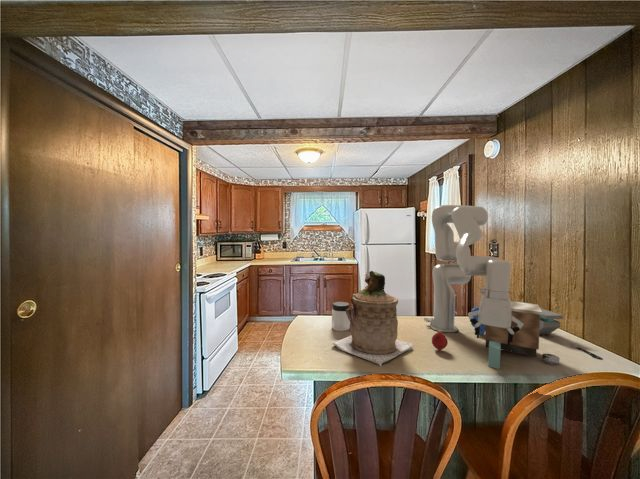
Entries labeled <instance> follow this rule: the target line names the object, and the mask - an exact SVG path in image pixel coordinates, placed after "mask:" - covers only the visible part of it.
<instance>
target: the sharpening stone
mask: <svg viewBox="0 0 640 479" xmlns="http://www.w3.org/2000/svg"><path fill="white" fill-rule="evenodd" d="M520 302H521V303H525V302H523V301H520ZM540 309H541V311H542V315H540V328H539V335H550V334H551V333H553V332H555V331H556V330H558V329H559V328H561V321H558V320H563V319H564V315H563V314H560V313H556V312H554V311H551V310H547V309H544V308H542V307H540Z"/></svg>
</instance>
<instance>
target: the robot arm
mask: <svg viewBox="0 0 640 479" xmlns="http://www.w3.org/2000/svg"><path fill="white" fill-rule="evenodd" d="M488 220H489V214H488V211H487V210H486V209H485V208H484V207H482V206H476V205H475V206H474V205H463V204H462V205H460V204H459V205H458V204H456V205H454V204H440V205H438V206H436V207H435V208H433V210H432V212H431V224H432V228H433V230H434V250H435V252H434V253H435V257H436V259H437V260H438V261H440V262H441V261H442V262H456V263H440V264H436V265H434V267H433V268H432V280H433V317H428V316H424V318H423V320H424V322H425V323H429V328H430V329H432V330H433V331H435V332H436V331H437V332H438V331H442V333H447V334H448V333H449V334H450V333H457V331H458V330H459V329H458V327H457V325H455V314H456V313H455V310H456V308H455V306H456V305H455V304H456V292H455V290H454V288H453V287H452V284H453V285H454V284H455V285H456V284H459V285H460V284H462V285H463V284H468V283H469V282H470V281H471V279H472V277H484V278H485V279H484V288H480V289H479V293H480V294H481V293H482V294H483V295H482V296H481V298H480V302H479V310H477V311H474V312H471V311H470V312H468V313H467V316H468V318H469V322H470V321H471V322H472V323H473V325H474V326H475V327H474V329H475V330H474V335H475V336H476V339H479V338H480V335H481V334H480V325H481V324H483V325H488V326H493V327H498V328H504V329H507V330H508V331H509V332H508V341H507V343H508V345H510V342H513V334H514V333H516V332H517V331H519V330H520V328H521V327H522V326H523V325H524V323H523V322H522V321H520V320H518V319H517V318H515V317H514V316H512V305H511V301H512V300H511V299H510V298H509V296H510V295H509V294H510V282H511V269H512V267H511V266H512V265H511V262H510V261H507V260H504V259H500V258H498V257H496V256H493V255H492V256H487V255H485V256H483V255H477V256H476V255H473V256H472V254H471V248H470V246H471V245H474V244H475V243H477V242H478V241H480V240H481V239H482V238H483V231H482V229H481V226H484V225H486V223H487V222H488ZM450 224H453V225H454V227H455V230H456V231H457V232H456V233H457V234H458V236H459V241H455V238H454V230H453V229H452V227H451V226H450ZM475 315H478V321H476V320H475V319H474V318H473V316H475ZM512 321H514V322H515V323H517V326H515V327H514V328H512V327H511V322H512ZM471 322H470V323H471Z"/></svg>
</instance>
